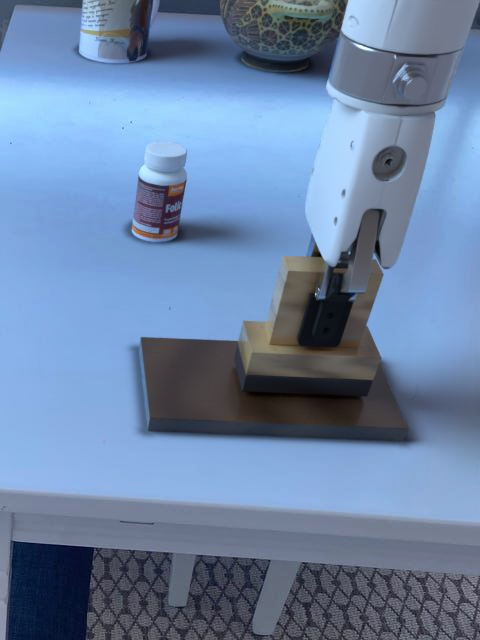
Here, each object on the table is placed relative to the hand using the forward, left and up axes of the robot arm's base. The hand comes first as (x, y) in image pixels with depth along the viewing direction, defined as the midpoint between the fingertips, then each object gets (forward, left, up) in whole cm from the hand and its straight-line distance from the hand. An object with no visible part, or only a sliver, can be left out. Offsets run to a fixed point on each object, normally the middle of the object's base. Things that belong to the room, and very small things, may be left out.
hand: (313, 331), depth 73 cm
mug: (+11, -87, -6) cm, 88 cm away
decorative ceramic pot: (-11, -85, -6) cm, 86 cm away
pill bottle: (+10, -29, -6) cm, 31 cm away
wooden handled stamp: (0, 0, -4) cm, 4 cm away
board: (+3, 0, -6) cm, 7 cm away
